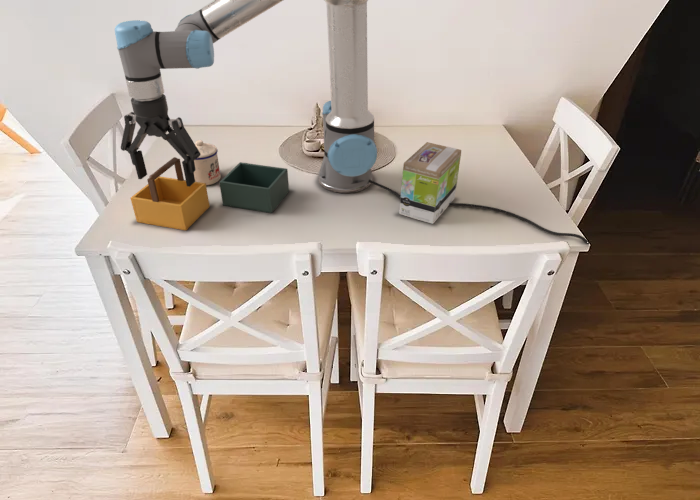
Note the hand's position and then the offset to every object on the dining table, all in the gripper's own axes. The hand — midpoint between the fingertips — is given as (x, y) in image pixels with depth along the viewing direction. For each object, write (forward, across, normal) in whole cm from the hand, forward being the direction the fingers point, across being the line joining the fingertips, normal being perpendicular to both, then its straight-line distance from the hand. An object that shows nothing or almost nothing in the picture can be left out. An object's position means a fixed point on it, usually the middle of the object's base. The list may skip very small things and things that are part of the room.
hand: (166, 180), depth 133 cm
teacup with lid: (+10, +2, -21) cm, 23 cm away
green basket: (+10, -17, -14) cm, 24 cm away
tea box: (+10, -62, -22) cm, 66 cm away
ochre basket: (+10, 0, 0) cm, 10 cm away
